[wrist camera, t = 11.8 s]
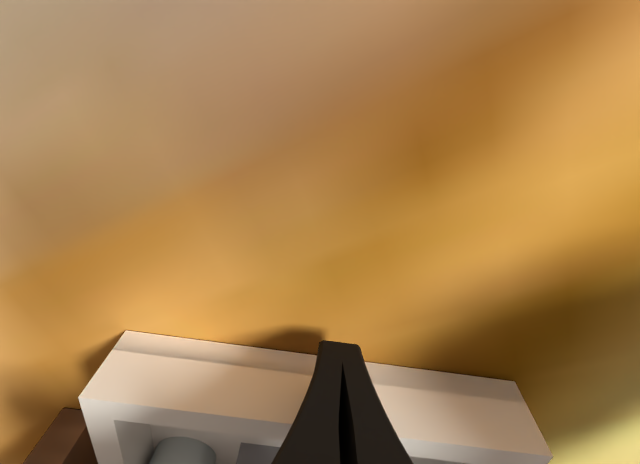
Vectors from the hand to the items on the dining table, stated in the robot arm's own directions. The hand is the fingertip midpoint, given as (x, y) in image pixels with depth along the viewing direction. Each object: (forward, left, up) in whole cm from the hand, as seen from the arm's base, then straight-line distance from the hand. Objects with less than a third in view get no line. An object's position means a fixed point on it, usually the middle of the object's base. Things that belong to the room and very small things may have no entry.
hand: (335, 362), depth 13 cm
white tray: (0, +8, -1) cm, 8 cm away
